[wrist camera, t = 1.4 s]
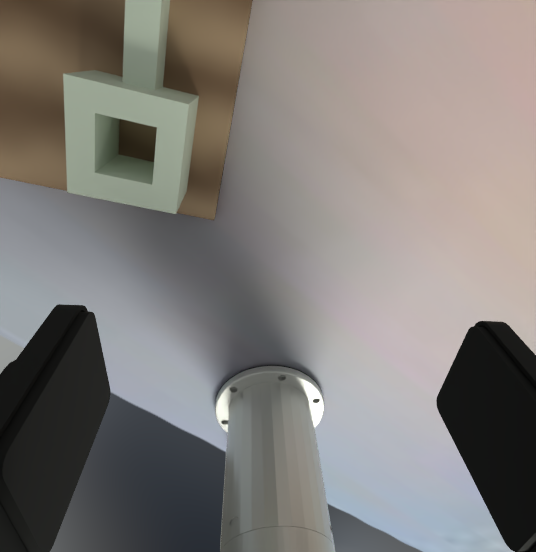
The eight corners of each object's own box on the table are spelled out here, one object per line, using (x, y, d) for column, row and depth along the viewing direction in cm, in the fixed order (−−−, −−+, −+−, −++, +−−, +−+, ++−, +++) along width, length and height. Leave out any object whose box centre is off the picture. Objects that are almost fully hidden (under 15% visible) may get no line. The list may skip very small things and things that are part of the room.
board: (215, 214, 32) (214, 220, 31) (-70, 157, 29) (-81, 160, 28) (277, -141, 21) (278, -151, 20) (-166, -298, 18) (-191, -319, 17)
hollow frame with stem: (186, 190, 30) (175, 214, 26) (94, 171, 29) (67, 192, 24) (214, -28, 23) (206, -46, 19) (95, -64, 22) (57, -92, 18)
